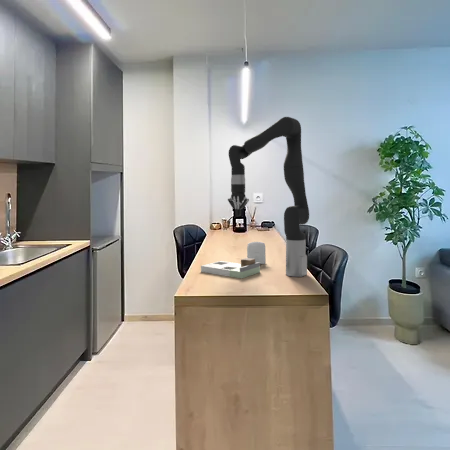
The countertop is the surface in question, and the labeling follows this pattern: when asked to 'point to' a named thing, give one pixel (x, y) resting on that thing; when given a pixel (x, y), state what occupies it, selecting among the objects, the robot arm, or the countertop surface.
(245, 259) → the walnut block
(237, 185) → the robot arm
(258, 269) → the box
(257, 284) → the countertop surface
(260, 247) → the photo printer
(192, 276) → the countertop surface
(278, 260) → the countertop surface
